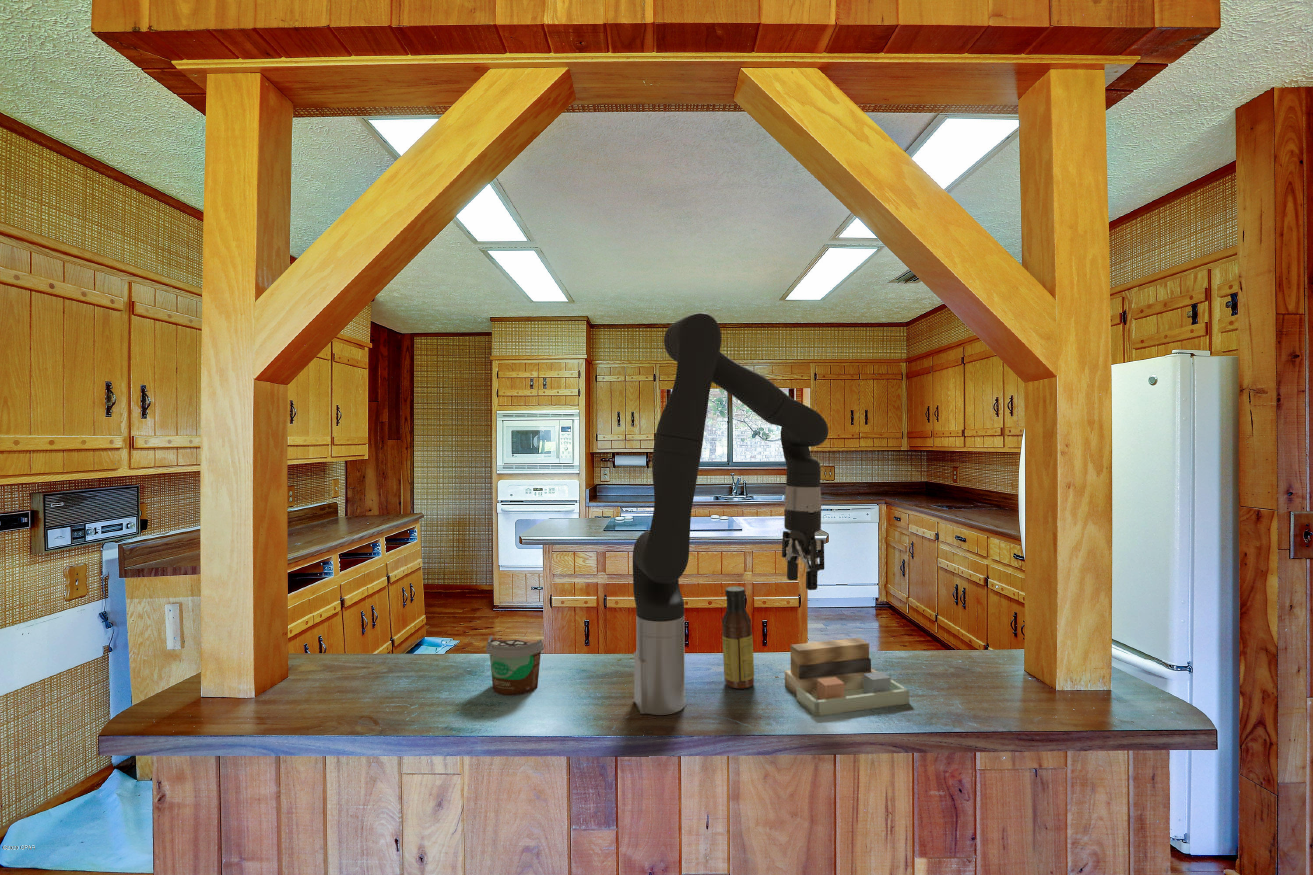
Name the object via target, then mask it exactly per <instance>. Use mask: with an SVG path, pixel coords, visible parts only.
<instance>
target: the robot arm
mask: <svg viewBox="0 0 1313 875" xmlns="http://www.w3.org/2000/svg"><path fill="white" fill-rule="evenodd" d="M663 344H664V349H665V352H666V353H667V355H668V356H669V358H671V359H672V360H673V361H675V362H676V363H677V364H676V373H675V379H674V384H673V386H672V388H671V391H670V392H671V393H670V395H669V397H668V399H667V401H666V404H665V405H664V408H663V410H662V412H661V414H660V417H659V420H658V423H657V426H656V427H657V428H656V432H655V436H654V444H653V451H652V460H651V471H652V472H651V474H652V475H651V476H652V485H653V496H654V498H653V500H654V501H653V502H654V504H653V512H652V518H651V522H650V523H651V524H650V527H649V529H647V530H645V531H644V532H643V533H641V534H640V535H639V536H638V538H637V539H636V540H635V543H634V546H633V550H632V586H633V588H632V590H633V598H634V603H635V614H636V616H635V617H636V621H635V623H636V625H635V626H636V629H635V630H636V631H635V632H636V635H635V636H636V651H634V652H633V698H634V704H635V705H636V707H637V708H638V710H639V712H640V714H641V715H644V714H649V715H655V716H664V715H665V716H666V715H671V714H676V713H678V712H680V711H682V710H683V709H684V708H685V707H686V706H685V705H686V701H685V700H686V690H685V688H686V686H685V685H686V684H685V683H686V680H685V678H686V677H685V676H686V674H685V672H686V671H685V668H686V667H685V657H686V656H685V601H684V598H683V596H682V592H681V589H680V583H679V579H680V578H681V576H683V574H684V572H686V569H687V566H688V563H689V558H690V542H691V538H690V537H691V521H692V519H691V518H692V510H693V504H694V500H695V499H694V497H695V494H696V487H697V480H698V475H699V468H700V464H701V458H702V450H703V443H704V437H705V429H706V428H705V427H706V426H705V425H706V421H707V420H706V419H707V416H708V415H707V414H708V409H709V407H708V406H709V402H710V401H709V399H710V393H711V387H712V383H713V384H714V385H716V386H718V387H719V388H721V389H723V391H725V392H727V393H728V394H730V395H731V396H733V398H735V399H736V400H738V401H739V402H741V404H743V405H744V406H746V407H747V408H749V410H750V411H752V412H753V413H754V414H756V416H758V417H759V418H761V419H762V420H764V421H765V422H766V423H768V424H769V425H773V426H778V427H781V428H780V443H781V448H782V452H783V453H782V454H783V457H784V462H785V465H786V471H785V472H786V474H785V476H786V478H785V479H786V482H785V485H786V486H785V492H784V520H783V521H784V524H783V525H784V526H783V527H784V529H785V530H783V531H782V538H781V539H782V543H781V557H782V558H783V559H785V562H786V564H787V565H786V579H787V580H788V581H797V580H798V574H799V571H798V570H799V563H798V561H799V559H800V560H801V562H803V563H804V565H805V566H804V567H805V569H806V571H805V589H806V590H807V591H816V590H817V589H818V573H819V572H820V571H824V570H825V541H824V540H823V539H816V535H815V534H816V532H820V531H821V529H822V527H821V526H822V492H821V464H820V462H819V460H817V459H815V458H813V457H812V455H811V450H810V448H811V447H818V446H821V445H822V444H824V443H825V441H826V440H827V439H828V437H829V436H828V435H829V426H828V423H827V421H826V420H825V418H824V417H823V416H822V415H821V413H819V412H818V411H817V410H814V409H813V408H811V407H810V406H808V405H805V404H804V403H802V402H800V401H798V400H796V399H794V398H792V397H790V396H789V395H788V394H787V393H786V392H785V391H783V390H782V389H781V388H780V387H778V386H777V385H776V384H775V383H774V382H772V381H771V380H769V379H768V378H766V377H765V376H763V375H762V374H759V373H758V372H756V371H755V370H752V369H750V368H748V367H746V366H744V365H741V364H740V363H738V362H736V361H734V360H733V359H731V358H730V357H728V356H727V355H725V354H724V353H722V352H721V346H722V332H721V327H720V325H719V323H718V322H717V320H716V319H715V318H714V316H712V315H710V314H708V313H705V312H695V313H692V314H690V315H687V316H684V317H683V318H680V319H678V320H677V321H674V322H673V323H672V324H671V325H669V327H667V329H666V331H665V333H664V337H663ZM818 560H819V561H818Z"/></svg>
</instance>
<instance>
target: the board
mask: <svg viewBox="0 0 1313 875" xmlns="http://www.w3.org/2000/svg"><path fill="white" fill-rule="evenodd" d="M874 672H878V671H877V670H876V669H874V668H872V667H871V671H868V672H860V673H851V674H843V675H834V676H826V677H818V678H809V679H801V680H800V679H799V678H798V677H797V676H795V675H794V674H793V673H792V672H791V669H787V670H784V686H785V687H786V688H787V689H788V690H790V691H791V692H792V693H793V694H794V695H796V696H797V687H801V688H803V689H804V690H805V691H806V692H807V693H809V694H810V695H816V694H817V679H823V678H831V677H836V678H838V679H839V680H840V681H842V682H843V683H844V691H848V690H856V689H863V674H866V673H874Z"/></svg>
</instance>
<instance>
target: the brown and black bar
mask: <svg viewBox="0 0 1313 875" xmlns="http://www.w3.org/2000/svg"><path fill="white" fill-rule="evenodd" d="M871 668H872V658H870V643H869V642H867V641H865V640H864V639H862V638H860V637H855V638H854V637H853V638H844V639H837V640H835V639H834V640H826V641H825V640H824V641H815V642H805V643H797V644H795V643H794V644H790V670H791V672H792V673H793V674H794V675H795V676H797V677H798V678H799V679H800V680H801V679H809V678H818V677H826V676H834V675H843V674H851V673H860V672H868V671H871Z"/></svg>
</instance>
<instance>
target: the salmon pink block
mask: <svg viewBox="0 0 1313 875" xmlns="http://www.w3.org/2000/svg"><path fill="white" fill-rule="evenodd" d="M838 697H844V683H843V682H842V681H840V680H839V679H838V678H836V677H831V678H823V679H817V700H823V699H830V698H838Z"/></svg>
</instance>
